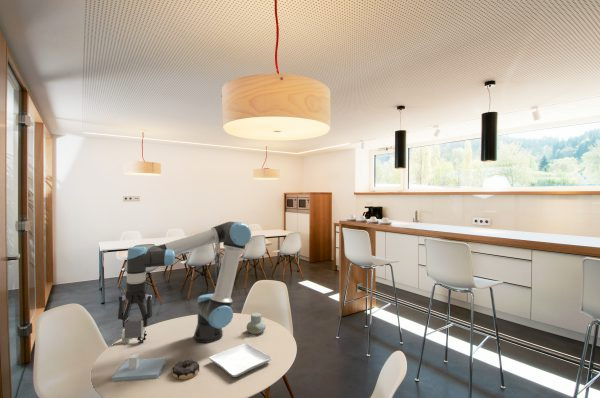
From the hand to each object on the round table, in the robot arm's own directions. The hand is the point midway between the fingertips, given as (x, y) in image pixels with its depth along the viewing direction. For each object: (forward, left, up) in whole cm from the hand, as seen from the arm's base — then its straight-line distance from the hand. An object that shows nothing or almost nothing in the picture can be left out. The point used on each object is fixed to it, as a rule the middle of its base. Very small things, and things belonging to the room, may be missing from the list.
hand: (134, 334), depth 136 cm
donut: (-23, +6, -16) cm, 29 cm away
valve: (+12, -28, -16) cm, 35 cm away
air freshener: (-53, -33, -16) cm, 64 cm away
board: (-3, +1, -15) cm, 16 cm away
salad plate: (-46, +1, -16) cm, 49 cm away
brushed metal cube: (0, 0, 0) cm, 0 cm away
